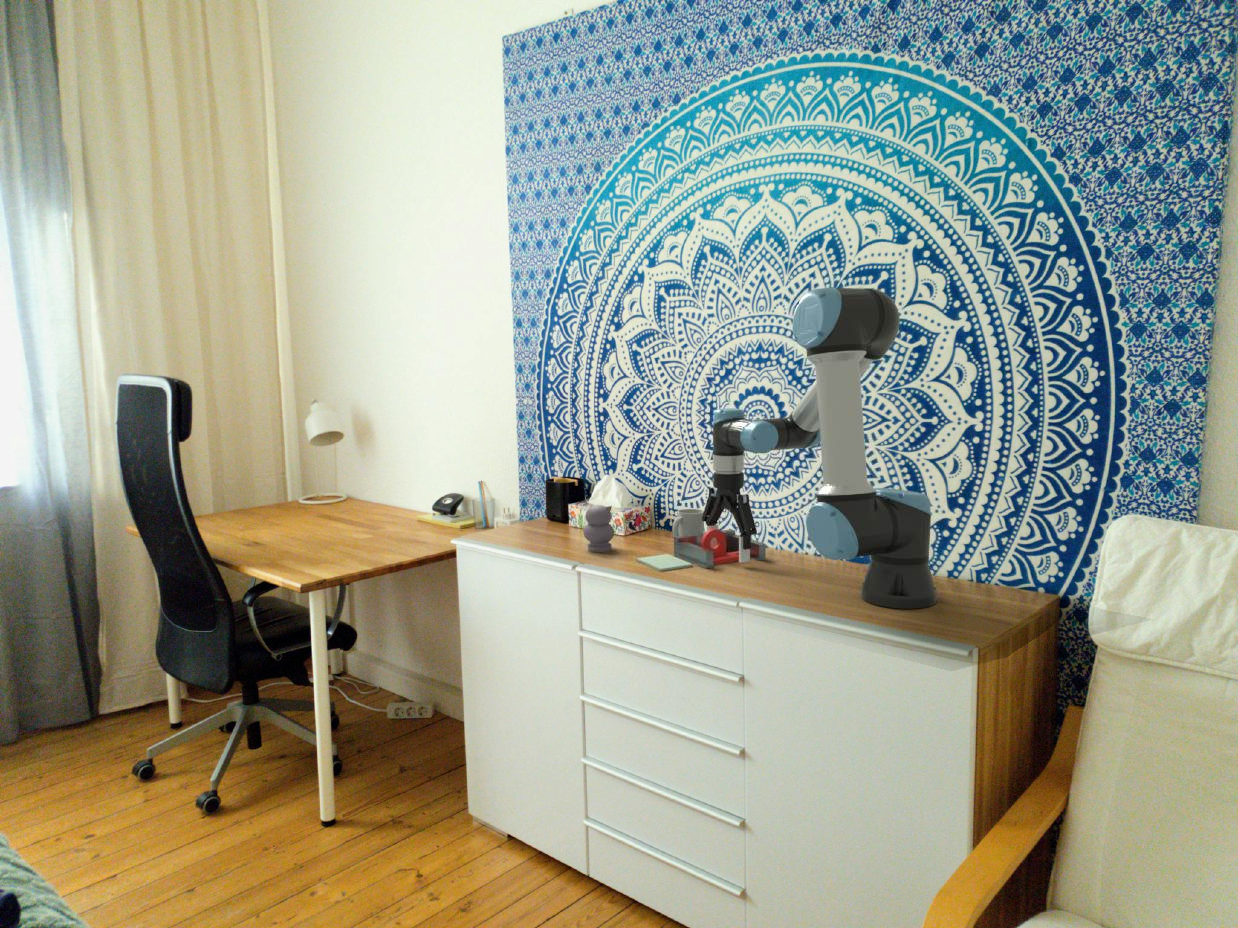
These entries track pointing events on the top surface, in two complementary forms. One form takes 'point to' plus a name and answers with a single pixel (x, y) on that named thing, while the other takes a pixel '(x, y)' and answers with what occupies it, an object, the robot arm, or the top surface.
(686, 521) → the cup
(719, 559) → the bracket
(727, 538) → the grey u-shaped frame
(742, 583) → the top surface
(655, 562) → the mat
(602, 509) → the cat figurine
